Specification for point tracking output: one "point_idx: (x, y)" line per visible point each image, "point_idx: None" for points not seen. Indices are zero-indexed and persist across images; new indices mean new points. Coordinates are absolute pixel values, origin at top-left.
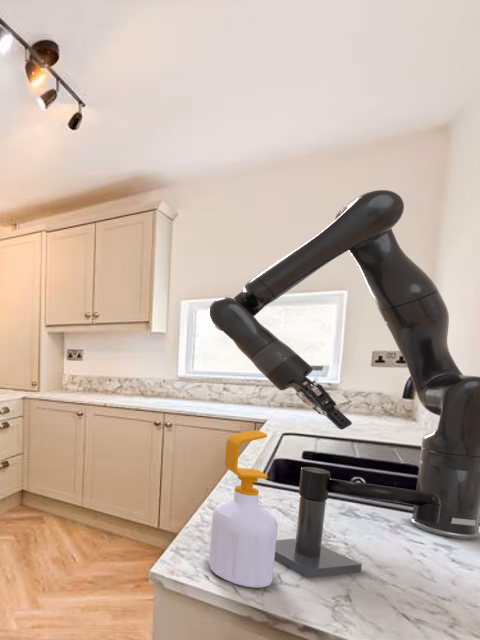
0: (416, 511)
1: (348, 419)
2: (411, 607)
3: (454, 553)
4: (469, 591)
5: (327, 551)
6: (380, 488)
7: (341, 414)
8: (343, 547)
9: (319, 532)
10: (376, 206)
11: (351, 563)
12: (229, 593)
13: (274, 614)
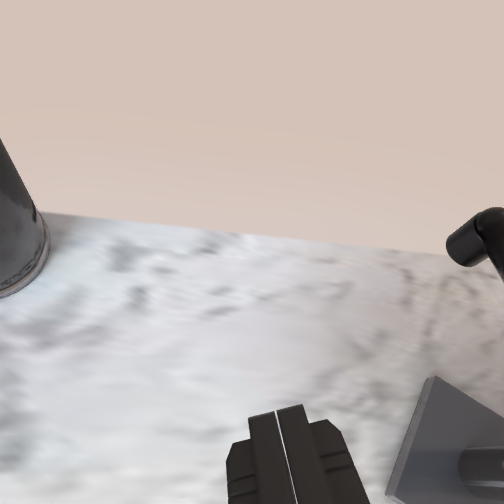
0: (483, 259)
1: (308, 425)
2: (484, 312)
3: (159, 245)
4: (344, 246)
5: (433, 438)
6: None
7: (329, 482)
8: (318, 420)
9: None
10: None
11: (450, 391)
12: None
13: None
